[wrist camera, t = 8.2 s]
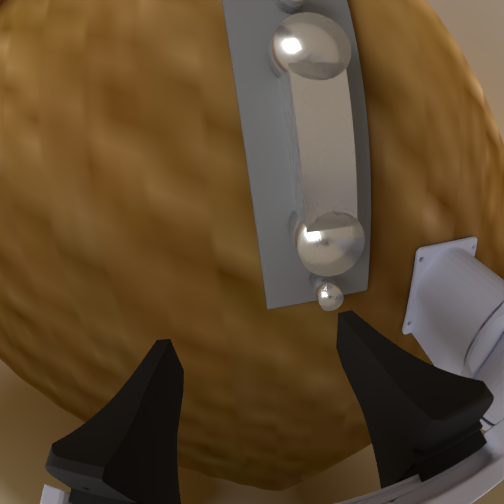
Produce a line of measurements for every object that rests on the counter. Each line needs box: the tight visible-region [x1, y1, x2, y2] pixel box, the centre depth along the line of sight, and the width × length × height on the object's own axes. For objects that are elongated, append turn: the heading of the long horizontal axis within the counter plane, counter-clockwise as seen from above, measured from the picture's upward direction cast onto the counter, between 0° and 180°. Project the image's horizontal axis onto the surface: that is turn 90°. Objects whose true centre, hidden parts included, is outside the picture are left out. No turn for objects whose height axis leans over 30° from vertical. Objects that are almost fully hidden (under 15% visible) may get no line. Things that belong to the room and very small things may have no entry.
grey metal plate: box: [222, 0, 371, 311], centre depth 15 cm, size 23×8×4 cm, turn 8°
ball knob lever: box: [266, 12, 365, 276], centre depth 15 cm, size 15×4×3 cm, turn 8°
